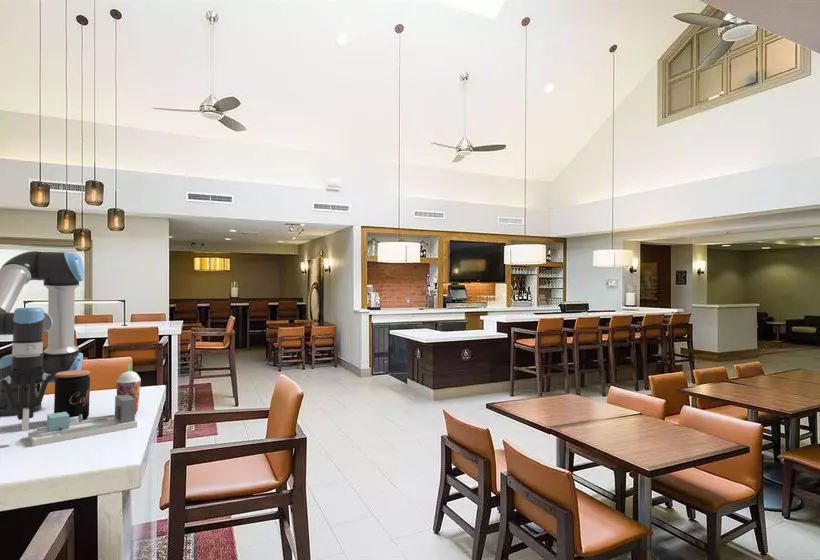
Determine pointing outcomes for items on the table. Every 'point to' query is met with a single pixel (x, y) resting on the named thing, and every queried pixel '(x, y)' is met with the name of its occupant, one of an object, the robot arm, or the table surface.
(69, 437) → the board
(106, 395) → the table surface
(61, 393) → the coffee jar
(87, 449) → the table surface
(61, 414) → the gauge slider
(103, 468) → the table surface
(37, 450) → the table surface
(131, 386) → the smoothie
